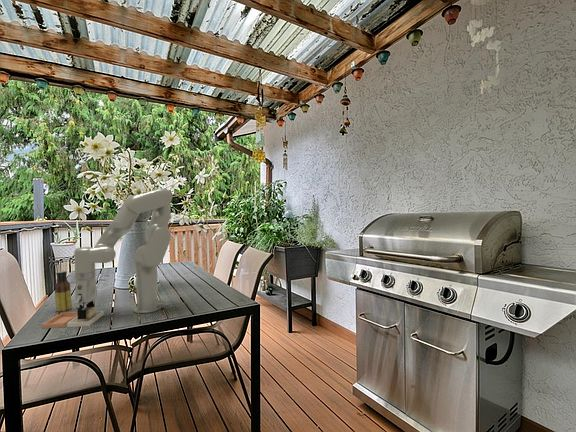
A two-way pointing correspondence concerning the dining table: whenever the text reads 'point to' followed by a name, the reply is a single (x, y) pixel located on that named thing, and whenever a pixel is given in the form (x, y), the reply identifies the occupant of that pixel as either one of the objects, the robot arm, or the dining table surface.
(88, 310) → the letter cube
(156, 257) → the robot arm
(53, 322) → the tray
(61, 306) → the sauce bottle
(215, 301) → the dining table surface
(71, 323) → the tray
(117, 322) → the dining table surface
